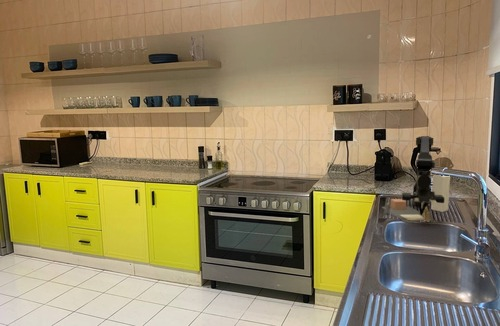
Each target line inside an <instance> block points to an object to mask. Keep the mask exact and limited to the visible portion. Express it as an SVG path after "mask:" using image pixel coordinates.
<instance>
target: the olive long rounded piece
mask: <svg viewBox="0 0 500 326" xmlns="http://www.w3.org/2000/svg"><path fill="white" fill-rule="evenodd" d="M422 203H423V202H421V207H422ZM385 207H386V210H384V211H385V213H384V214H385V215H387V216H389V215H390V214H391V213H390V207H391V202H386V203H385Z"/></svg>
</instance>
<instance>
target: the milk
mask: <svg viewBox="0 0 500 326" xmlns="http://www.w3.org/2000/svg"><path fill="white" fill-rule="evenodd" d="M450 183H451V176H450V175H449V176H441V175H435V174H433V175H432V187H431V191H432V192H435V195H442V196H443V197H444V203H437V202H436V201H435V200H431V201H430V202H431V206H430V209H431V210H432V211H437V212H441V213H442V212H448V211H449V200H450V199H449V198H450Z"/></svg>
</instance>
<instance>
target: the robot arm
mask: <svg viewBox="0 0 500 326" xmlns="http://www.w3.org/2000/svg"><path fill="white" fill-rule="evenodd" d="M415 146H416V150H417V151H418V153H419V154H418V155H417V159H416V160H415V161H416V162H415V173H417V178H416V180H415V181H414V184H413V189H412V190H413V191H412V193H411V192H405V191H403V192H402V193H401V198H400V199H402V200H404V201H410V200H411V199H412V201H413V202H412V206H414V207H416V208H418V211H419V212H420V215H422V214H423V212H424V210H425V208H426V207H427V208H429V204H431V202H432V200H435V201H436V202H437V203H444V197H443V196H442V195H435V192H432V187H431V184H432V177H431V174H432V173H430V171H429V170H430V169H431V170H432V168H435V169H436V164H435V160H434V159H433V155H431V154H430V152H431V150H432V147H433V146H434V138H433V137H431V136H429V135H422V136H418V137H416V139H415ZM421 202H423V203H422V208H421Z"/></svg>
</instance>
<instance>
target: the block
mask: <svg viewBox="0 0 500 326" xmlns="http://www.w3.org/2000/svg"><path fill="white" fill-rule="evenodd" d="M390 207H391V208H393V209H394V210H406V207H407V200H402V198H396V199H395V198H391V199H390Z"/></svg>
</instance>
